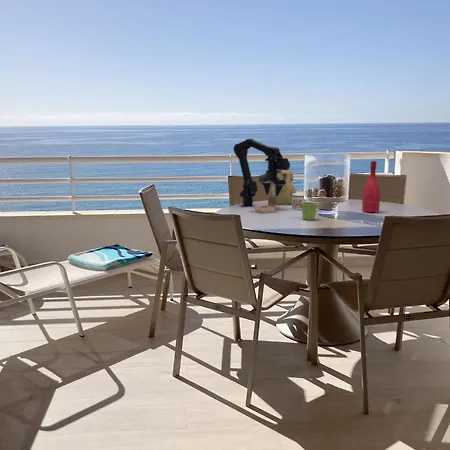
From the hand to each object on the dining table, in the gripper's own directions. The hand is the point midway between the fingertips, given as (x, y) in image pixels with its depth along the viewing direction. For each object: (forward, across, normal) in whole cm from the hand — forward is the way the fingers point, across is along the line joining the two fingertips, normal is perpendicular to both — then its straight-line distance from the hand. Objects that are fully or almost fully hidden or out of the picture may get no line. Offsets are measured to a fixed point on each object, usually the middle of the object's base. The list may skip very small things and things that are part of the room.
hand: (271, 195), depth 299 cm
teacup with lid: (+9, +7, +17) cm, 21 cm away
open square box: (+8, +8, -11) cm, 16 cm away
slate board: (+9, +7, -11) cm, 16 cm away
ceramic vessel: (+9, -17, +22) cm, 29 cm away
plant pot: (+9, +34, -1) cm, 35 cm away
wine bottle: (+9, +34, +47) cm, 59 cm away
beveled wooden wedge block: (+9, 0, 0) cm, 9 cm away
